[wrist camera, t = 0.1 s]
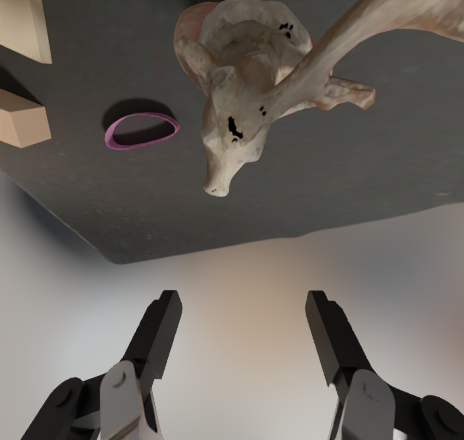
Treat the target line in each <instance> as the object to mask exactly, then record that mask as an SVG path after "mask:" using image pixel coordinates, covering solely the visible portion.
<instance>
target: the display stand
mask: <svg viewBox="0 0 464 440" xmlns="http://www.w3.org/2000/svg"><path fill="white" fill-rule="evenodd" d="M0 44H1V45H3V46H5V47H7V48H10V49H12V50H14V51H16V52H18V53H21V54H23V55H25V56H27V57H29V58H32V59H34V60H36V61H38V62H40V63H49V64H52V59H51V53H50V47H49V41H48V35H47V29H46V23H45V17H44V11H43V5H42V0H0Z"/></svg>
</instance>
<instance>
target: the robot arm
mask: <svg viewBox="0 0 464 440" xmlns="http://www.w3.org/2000/svg"><path fill="white" fill-rule="evenodd" d="M305 311H306V317H307V320H308V323H309V326H310V330H311V333H312V336H313V340H314V343H315V346H316V349H317V353H318V356H319V359H320V362H321V366H322V369H323V372H324V376H325V379H326V382H327V385H328V388H336V391H337V394H338V397H339V398H338V402H337V405H336V410H335V413H334V417H333V421H332V425H331V429H330V432H329V436H328V440H464V415H463V414H462V413H461V412H460V411H459V410H458V409H457V408H455V407H454V406H453V405H451V404H450V403H449V402H447V401H445V400H444V399H442V398H440V397H437V396H433V395H427V396H425V397H423V398H420V397H417V396H414V395H412V394H409V393H407V392H404V391H402V390H399V389H397V388H395V387H392V386H391V385H389V384H388V383H386V382H385V381H384V380H383V379H381V378H380V377H379V376H378V375H377V374H376V372H375V371H374V370H373V368H372V367H371V365H370V363H369V361H368V359H367V357H366V355H365V353H364V351H363V349H362V347H361V345H360V343H359V341H358V339H357V337H356V335H355V333H354V331H353V330H352V327H351V325H350V323H349V322H348V319H347V317H346V315H345V313H344V312H343V309H342V308H341V307H340V306H339V305H338V304H337V303H336V302H335V301H328V299H327V297H326V295H325V293H324V292H323V291H309V292H308V296H307V301H306V305H305ZM181 315H182V303H181V300H180V298H179V295H178V292H177V291H176V290H164V291H163V292H162V294H161V296H160V298H159V300H154V301H153V302H152V303H151V304H150V305H149V306H148V308H147V310H146V312H145V314H144V316H143V318H142V320H141V322H140V324H139V326H138V328H137V330H136V332H135V334H134V336H133V338H132V340H131V342H130V344H129V346H128V348H127V350H126V352H125V354H124V356H123V358H122V359H121V360H120V362H119V363H117V364H116V365H114V366H113V367H112V368H111V369H110V370H109V371H108V372H107V373H105V374H102V375H99V376H97V377H94V378H91V379H88V380H85V381H82V380H81V379H79V378H77V377H74V378H70V379H68V380H66V381H64V382H62V383H61V384H60V385H59V386H58V387H56V388H55V389H54V390H53V392H52V393H51V394H50V395H49V397H48V398H47V400H46V401H45V403H44V404H43V406H42V408H41V409H40V410H39V412H38V414H37V415H36V417H35V419H34V420H33V421H32V423H31V424H30V426H29V428H28V429H27V431H26V432H25V434H24V435H23V437H22V438H21V440H97V438H98V435H99V433H100V430H101V440H164V439H163V437H162V434H161V431H160V426H159V421H158V417H157V412H156V407H155V402H154V397H153V392H152V384H153V381H154V379H162V376H163V372H164V369H165V366H166V363H167V359H168V356H169V353H170V350H171V347H172V344H173V340H174V337H175V334H176V331H177V328H178V324H179V321H180V318H181Z"/></svg>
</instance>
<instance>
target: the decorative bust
mask: <svg viewBox="0 0 464 440" xmlns="http://www.w3.org/2000/svg"><path fill="white" fill-rule="evenodd" d="M397 28H399V29H419V30H425V31H432V32H434V33H437V34H439V35H441V36H444V37H448V38H451V39H454V40H458V41H461V42H463V43H464V0H359V1H358V2H356V3H355V4H354V5H353V6H352V7H351V8H350V9H349V10H348V11H347V12H346V13H345V14H344V15H343V16H342V17H341V18H340V19H338V20H337V21H336V22H335V23H334V25H333V26H332V27H331V28H330V29H329V30H328V31H327V32H326V34H325V35H324V36H323V37H322V38H321V39H320V40H319V41H318V40H317V39H316V38H314V37H313V36H311V35H309V34H308V32H307V30H306V29H305V28H304V27H303V25H302V24H301V23H300V22H299V20H298V19H297V18H296V17H295V15H294V14H293V13H292V12H291V11H290V10H289V8H288V7H287V6H286V5H285V4H283V3H281V2H276V1H260V0H225V1H222V2H220V3H217V2H208V1H207V2H203V3H200V4H196V5H194V6H191V7H189V8H187V9H186V10H185V11H183V13H182V14H181V15H180V16H179V19H178V21H177V24H176V27H175V33H174V42H173V46H174V49H175V53H176V56H177V58H178V60H179V62H180V65H181V67H182V68H183V70H184V71H185V72H186V74H187V75H188V76H189V77H190V78H191V79H192V80H193V81H194V82H195V83H196V84H197V86H198V88H199V89H200V90H202V91H203V92H204V93H205V94H206V95H207V97H208V100H207V103H206V105H205V108H204V111H203V122H202V129H201V137H202V140H203V143H204V147H205V152H206V156H207V174H206V178H205V182H204V185H203V188H204V190H205V191H206V192H207V193H208V194H211V195H213V196H217V197H223V196H225V195H227V194H228V192H229V184H230V181H231V179H232V177H233V176H234V174H235V173H236V172H237V171H238V170H239V169H240V168H241V166H242V165H243V164H244V163H246V162H254V161H257V160H258V159H259V157H260V155H261V153H262V150H263V147H264V144H265V140H266V137H267V134H268V131H269V128H270V125H271V124H272V123H273V122H275V121H276V120H277V119H278V118H280V117H282V116H285V115H288V114H290V113H293V112H295V111H298V110H301V109H304V108H310V107H315V106H318V107H319V108H320V109H322V110H327V111H328V110H329V109H331V108H332V107H334V106H335V105H337V104H339V103H343V102H348V101H349V102H352V103H354V104H356V105H358V106H360V107H361V108H363V109H364V110H366V109H367V108H368V107H369V106H371V105H372V104H373V103H374V100H375V96H376V93H375V88H372V87H370V86H368V85H365V84H362V83H359V82H355V81H352V80H347V79H342V78H337V77H333V76H332V70H333V66H334V65H335V64H336V63H337V62H338V61H339V60H340V59H341V58H342V57H343V56H344V55H345V54H346V53H347V52H348V51H350V50H351V49H352V48H353V47H354V46H356V45H357V44H358V43H359V42H361V41H363V40H365V39H367V38H369V37H371V36H373V35H375V34H377V33H381V32H385V31H389V30H393V29H397Z"/></svg>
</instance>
